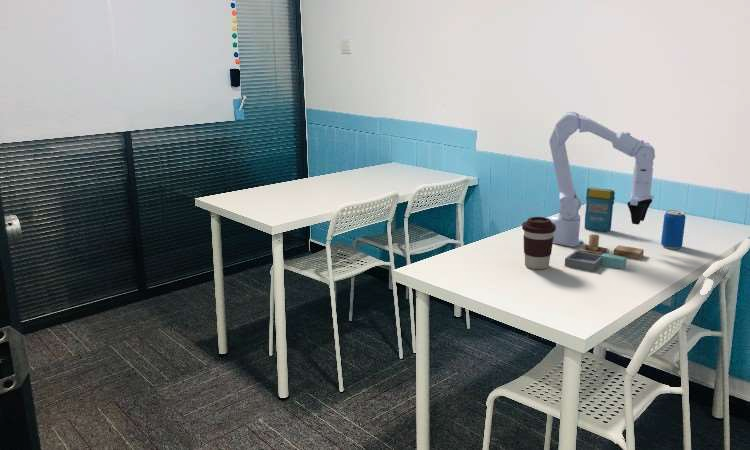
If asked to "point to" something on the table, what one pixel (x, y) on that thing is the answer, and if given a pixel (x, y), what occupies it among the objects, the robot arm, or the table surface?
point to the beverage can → (673, 229)
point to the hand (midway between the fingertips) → (637, 222)
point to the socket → (600, 251)
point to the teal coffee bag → (599, 209)
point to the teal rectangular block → (613, 261)
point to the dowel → (593, 242)
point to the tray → (583, 261)
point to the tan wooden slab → (628, 252)
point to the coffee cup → (538, 242)
